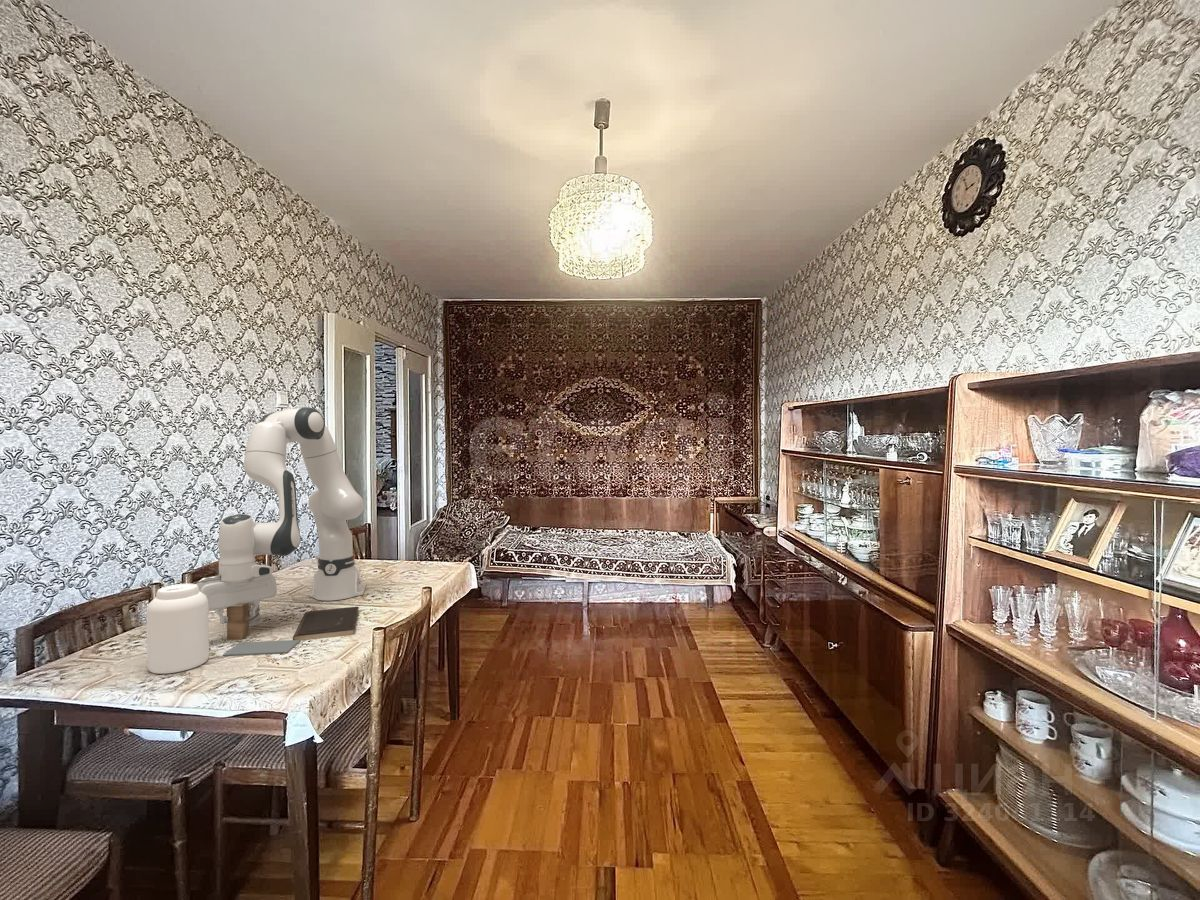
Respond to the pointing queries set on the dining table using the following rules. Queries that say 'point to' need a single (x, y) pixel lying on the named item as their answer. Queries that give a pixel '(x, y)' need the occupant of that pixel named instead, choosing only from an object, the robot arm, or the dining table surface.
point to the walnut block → (238, 621)
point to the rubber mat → (262, 647)
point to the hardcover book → (327, 623)
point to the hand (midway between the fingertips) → (237, 619)
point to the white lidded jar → (177, 629)
